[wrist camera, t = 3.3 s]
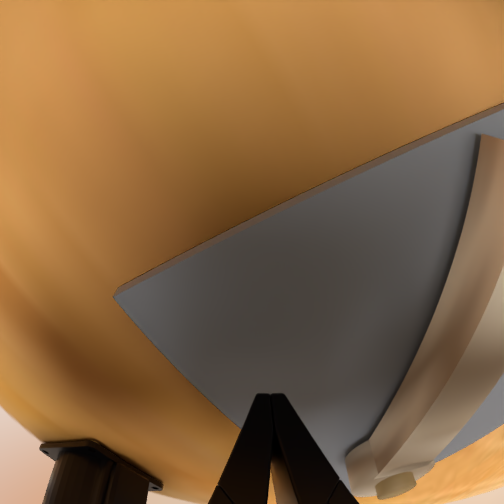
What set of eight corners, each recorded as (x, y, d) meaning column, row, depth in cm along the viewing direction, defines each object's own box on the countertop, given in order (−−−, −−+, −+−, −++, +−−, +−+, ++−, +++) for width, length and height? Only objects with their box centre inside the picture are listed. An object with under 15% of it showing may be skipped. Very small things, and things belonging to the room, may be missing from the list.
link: (403, 456, 14) (415, 495, 12) (335, 469, 14) (343, 512, 12) (546, 157, 7) (607, 187, 4) (458, 126, 6) (538, 151, 4)
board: (334, 494, 18) (335, 500, 18) (117, 287, 9) (112, 297, 9) (583, 350, 13) (586, 353, 13) (608, 63, 4) (615, 64, 4)
